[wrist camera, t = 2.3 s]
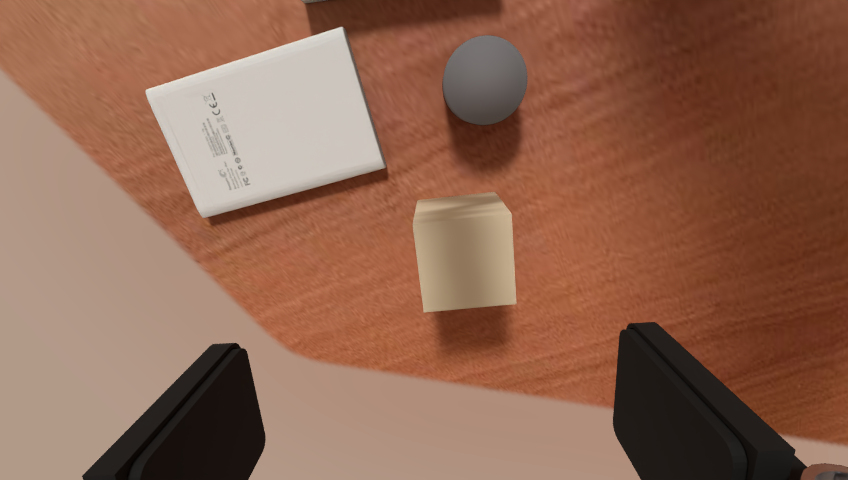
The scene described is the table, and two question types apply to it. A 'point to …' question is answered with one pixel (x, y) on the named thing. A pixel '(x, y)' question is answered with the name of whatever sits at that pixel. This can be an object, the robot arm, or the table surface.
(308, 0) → the tray
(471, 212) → the beech block
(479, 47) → the grey rounded lump
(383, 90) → the table surface
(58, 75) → the table surface
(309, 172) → the external hard drive
